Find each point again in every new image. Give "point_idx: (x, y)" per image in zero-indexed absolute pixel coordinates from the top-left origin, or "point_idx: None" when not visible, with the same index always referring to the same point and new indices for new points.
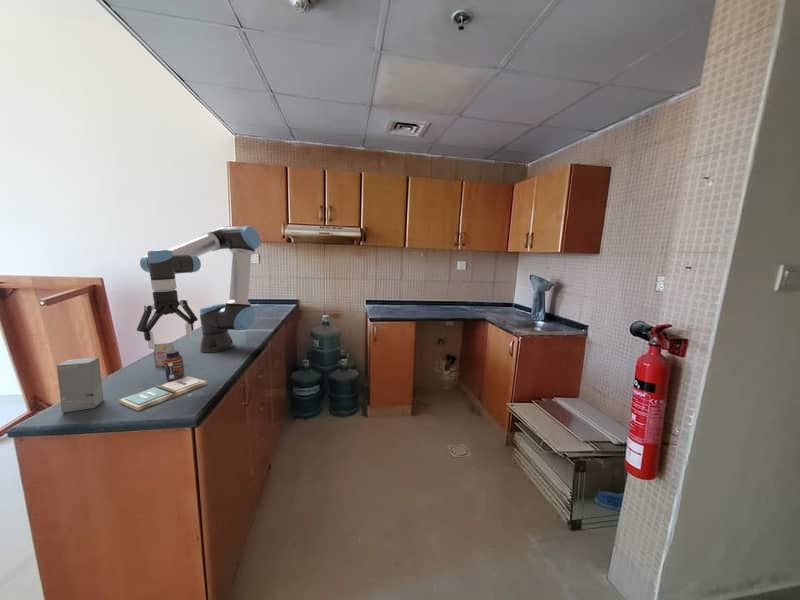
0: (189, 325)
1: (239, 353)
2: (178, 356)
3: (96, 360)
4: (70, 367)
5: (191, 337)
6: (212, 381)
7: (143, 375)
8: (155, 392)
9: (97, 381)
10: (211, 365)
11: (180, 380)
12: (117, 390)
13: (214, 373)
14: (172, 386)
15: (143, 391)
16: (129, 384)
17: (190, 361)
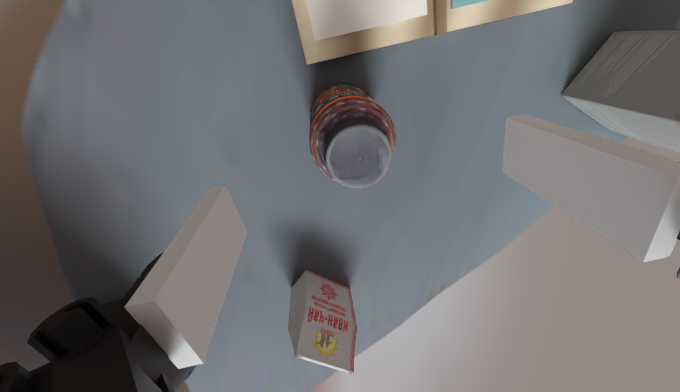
0: (160, 283)
1: (51, 226)
2: (334, 121)
3: None
4: None
5: (213, 194)
6: None
7: (400, 237)
8: None
9: (677, 72)
10: (190, 161)
11: (352, 10)
12: (498, 156)
13: (194, 27)
14: None
15: (489, 18)
16: (456, 184)
17: (252, 266)
